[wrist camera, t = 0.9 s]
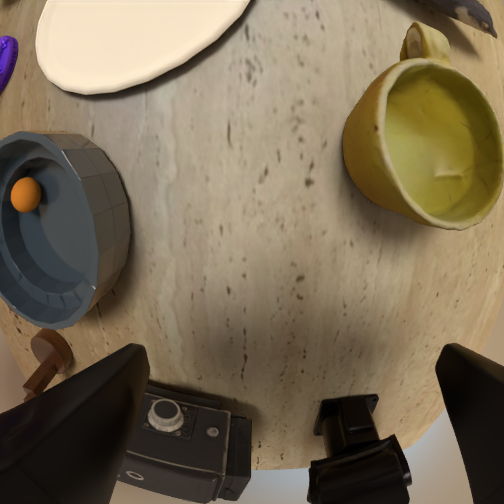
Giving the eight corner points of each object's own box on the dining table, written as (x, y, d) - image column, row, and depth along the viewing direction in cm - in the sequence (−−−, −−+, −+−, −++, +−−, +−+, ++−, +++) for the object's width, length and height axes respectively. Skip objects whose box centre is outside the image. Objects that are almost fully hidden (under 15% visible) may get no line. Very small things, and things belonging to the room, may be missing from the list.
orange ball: (49, 207, 19) (27, 215, 17) (28, 209, 19) (7, 217, 17) (46, 172, 18) (23, 177, 16) (25, 177, 18) (3, 182, 16)
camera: (132, 407, 29) (249, 442, 28) (93, 473, 18) (233, 521, 17) (122, 346, 26) (268, 387, 25) (62, 422, 15) (252, 492, 14)
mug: (448, 246, 18) (518, 254, 9) (328, 208, 21) (322, 185, 11) (464, 109, 16) (514, 53, 7) (356, 73, 19) (357, -7, 10)
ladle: (110, 429, 30) (91, 471, 23) (81, 421, 30) (61, 458, 23) (64, 331, 24) (24, 375, 17) (33, 324, 24) (-5, 362, 17)
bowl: (145, 304, 23) (119, 342, 17) (27, 292, 23) (-3, 315, 18) (128, 116, 18) (88, 108, 12) (6, 150, 18) (-33, 155, 13)
